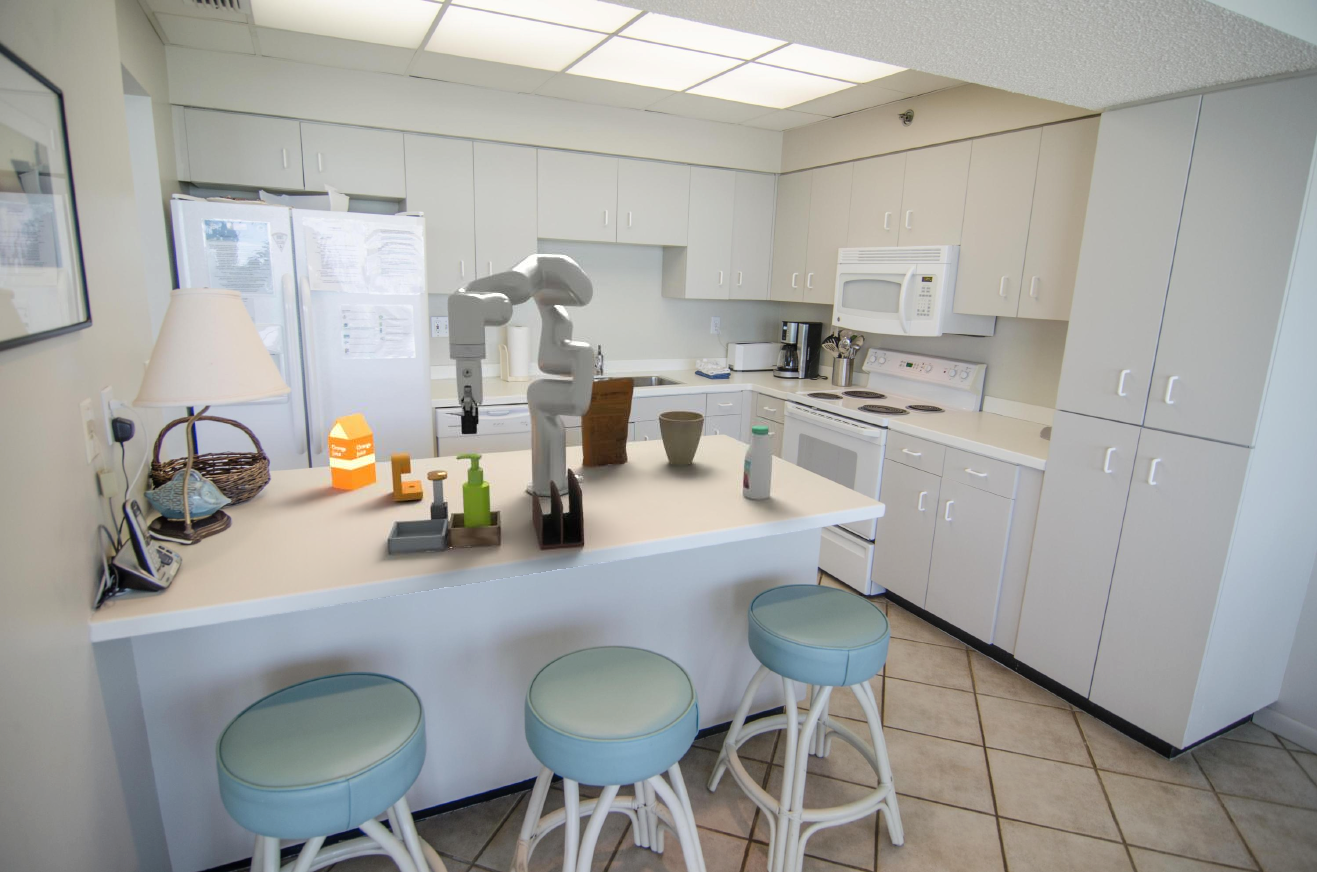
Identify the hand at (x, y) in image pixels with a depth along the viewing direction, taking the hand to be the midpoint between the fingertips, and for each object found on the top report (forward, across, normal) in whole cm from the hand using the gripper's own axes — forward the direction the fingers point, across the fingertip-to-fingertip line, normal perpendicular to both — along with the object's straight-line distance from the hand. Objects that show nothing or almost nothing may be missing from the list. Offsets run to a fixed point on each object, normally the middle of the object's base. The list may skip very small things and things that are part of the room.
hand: (470, 428), depth 149 cm
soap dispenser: (+26, +1, 0) cm, 26 cm away
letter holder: (+26, +1, -19) cm, 32 cm away
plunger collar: (+26, +8, +8) cm, 28 cm away
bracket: (+26, +34, +19) cm, 46 cm away
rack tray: (+26, 0, +12) cm, 29 cm away
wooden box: (+26, 0, 0) cm, 26 cm away
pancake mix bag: (+25, +58, -39) cm, 74 cm away
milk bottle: (+26, +20, -76) cm, 83 cm away
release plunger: (+25, +8, +8) cm, 27 cm away
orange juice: (+26, +47, +35) cm, 64 cm away
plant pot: (+25, +56, -63) cm, 88 cm away
